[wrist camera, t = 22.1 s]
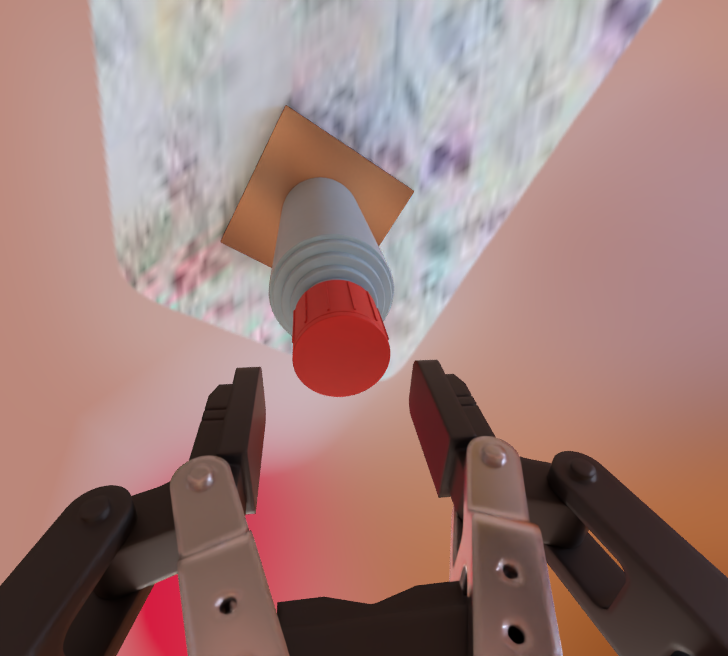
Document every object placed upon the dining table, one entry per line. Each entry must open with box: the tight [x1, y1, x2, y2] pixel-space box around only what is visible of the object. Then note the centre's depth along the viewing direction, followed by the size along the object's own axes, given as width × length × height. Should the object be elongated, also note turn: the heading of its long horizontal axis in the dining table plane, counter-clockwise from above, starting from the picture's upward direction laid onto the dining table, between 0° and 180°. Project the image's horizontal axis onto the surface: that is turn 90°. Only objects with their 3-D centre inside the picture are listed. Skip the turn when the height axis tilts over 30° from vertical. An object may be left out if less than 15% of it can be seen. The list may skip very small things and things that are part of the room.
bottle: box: [269, 177, 394, 336], centre depth 23 cm, size 6×6×19 cm
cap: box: [292, 280, 390, 397], centre depth 16 cm, size 4×4×3 cm
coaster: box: [221, 105, 414, 268], centre depth 32 cm, size 11×11×1 cm
